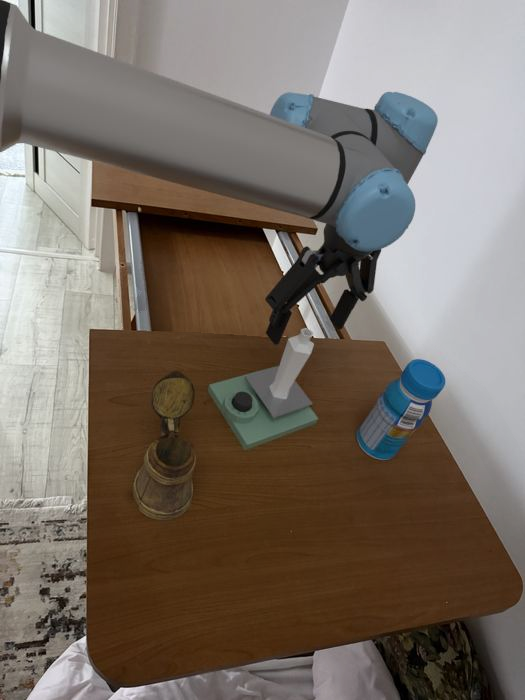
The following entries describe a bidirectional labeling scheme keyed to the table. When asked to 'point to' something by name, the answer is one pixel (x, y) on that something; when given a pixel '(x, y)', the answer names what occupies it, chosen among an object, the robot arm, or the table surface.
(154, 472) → the wooden mug
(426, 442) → the table surface
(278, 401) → the scale plate
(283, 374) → the white faceted vase
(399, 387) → the beverage bottle
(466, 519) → the table surface
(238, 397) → the tare button
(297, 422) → the scale
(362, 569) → the table surface
